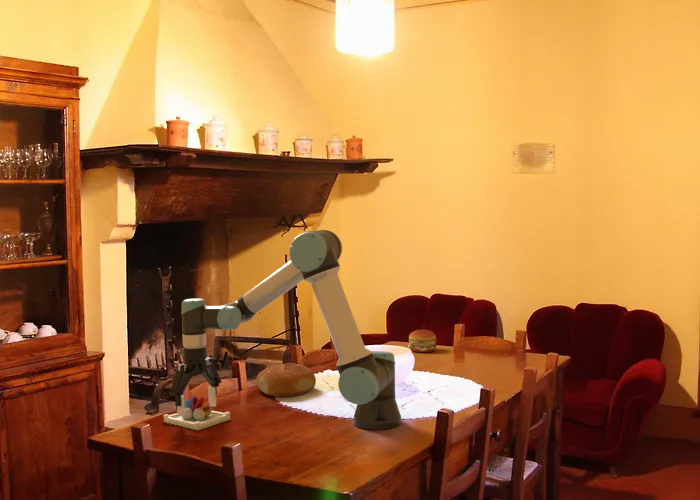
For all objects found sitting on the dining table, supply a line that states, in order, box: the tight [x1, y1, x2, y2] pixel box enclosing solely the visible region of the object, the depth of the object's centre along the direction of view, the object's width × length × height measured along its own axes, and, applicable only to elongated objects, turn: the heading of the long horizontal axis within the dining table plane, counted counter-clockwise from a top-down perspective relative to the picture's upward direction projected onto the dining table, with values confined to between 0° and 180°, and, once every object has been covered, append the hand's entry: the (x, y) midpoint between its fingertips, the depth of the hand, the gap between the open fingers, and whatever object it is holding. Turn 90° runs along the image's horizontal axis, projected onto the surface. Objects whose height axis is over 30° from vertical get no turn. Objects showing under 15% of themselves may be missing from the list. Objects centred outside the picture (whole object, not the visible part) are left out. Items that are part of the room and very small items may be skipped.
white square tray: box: [163, 410, 231, 431], centre depth 254 cm, size 17×15×2 cm
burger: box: [407, 329, 438, 353], centre depth 363 cm, size 13×14×10 cm
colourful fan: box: [182, 395, 213, 421], centre depth 254 cm, size 8×10×7 cm
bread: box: [256, 362, 317, 398], centre depth 292 cm, size 23×23×10 cm
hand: (197, 410), depth 254 cm, fingers open, 13 cm apart
